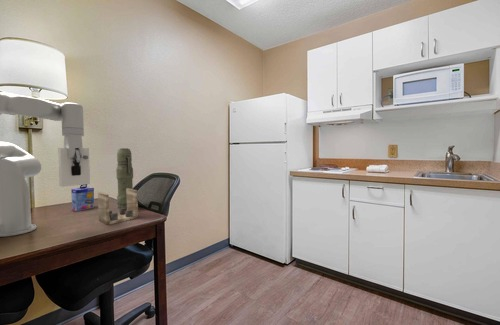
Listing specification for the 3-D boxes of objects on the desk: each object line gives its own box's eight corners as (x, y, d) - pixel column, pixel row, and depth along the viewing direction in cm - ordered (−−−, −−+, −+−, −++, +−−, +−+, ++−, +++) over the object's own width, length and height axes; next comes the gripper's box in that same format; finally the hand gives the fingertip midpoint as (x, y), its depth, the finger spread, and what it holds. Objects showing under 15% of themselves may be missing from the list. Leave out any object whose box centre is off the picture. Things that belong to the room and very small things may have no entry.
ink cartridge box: (77, 211, 132) (75, 185, 131) (71, 210, 134) (70, 185, 133) (95, 207, 141) (94, 183, 140) (89, 206, 143) (88, 182, 142)
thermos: (126, 204, 149) (124, 148, 146) (139, 206, 143) (137, 148, 141) (112, 207, 141) (110, 148, 138) (125, 209, 135) (123, 148, 133)
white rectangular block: (62, 187, 97) (61, 148, 96) (59, 185, 101) (58, 148, 100) (90, 184, 105) (89, 148, 104) (87, 183, 108) (85, 148, 107)
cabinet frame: (106, 225, 109) (105, 194, 108) (99, 220, 115) (97, 192, 114) (138, 217, 120) (137, 190, 119) (129, 214, 126) (128, 188, 125)
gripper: (57, 132, 104) (59, 174, 105) (67, 131, 94) (69, 177, 95) (77, 133, 110) (79, 172, 111) (89, 132, 99) (91, 175, 100)
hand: (74, 174), depth 103 cm, fingers closed on white rectangular block, 4 cm apart
